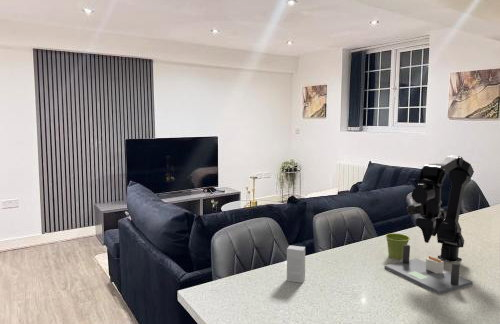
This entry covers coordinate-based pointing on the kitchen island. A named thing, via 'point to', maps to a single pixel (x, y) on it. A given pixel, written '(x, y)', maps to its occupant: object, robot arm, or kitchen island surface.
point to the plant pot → (396, 244)
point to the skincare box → (296, 264)
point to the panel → (427, 276)
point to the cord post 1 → (406, 254)
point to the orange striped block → (434, 265)
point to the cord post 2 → (455, 273)
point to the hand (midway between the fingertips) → (430, 239)
